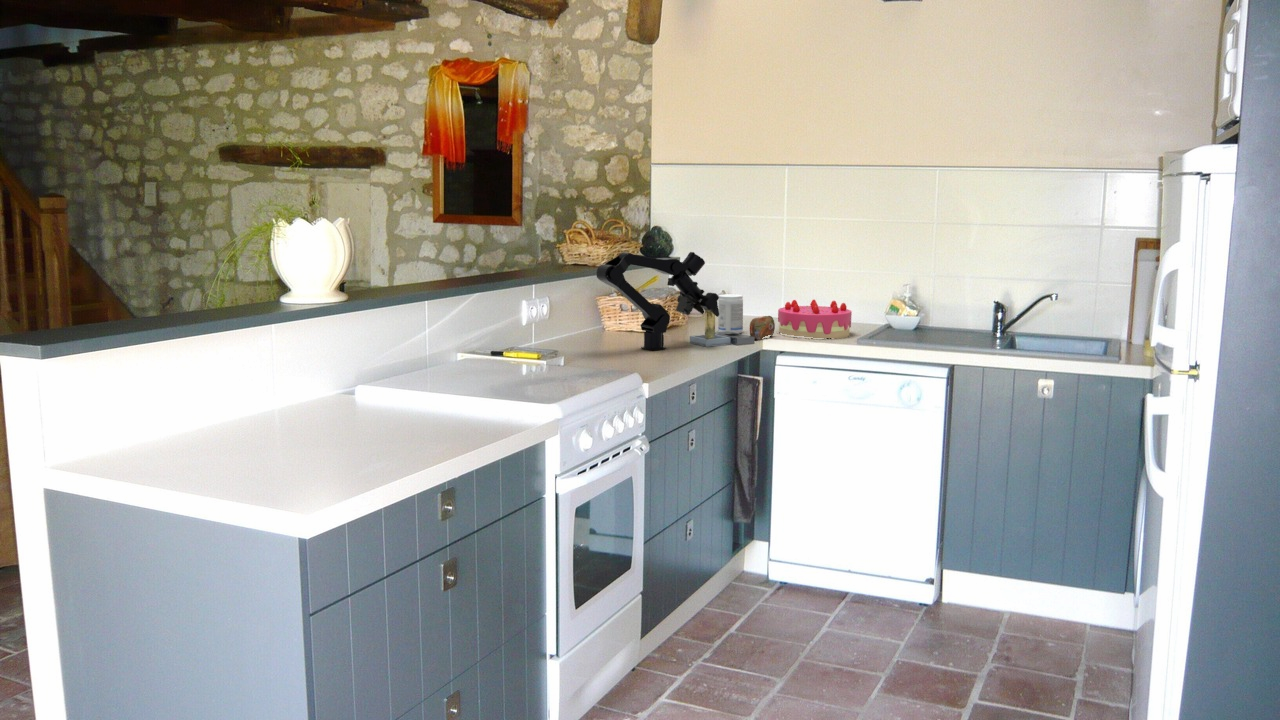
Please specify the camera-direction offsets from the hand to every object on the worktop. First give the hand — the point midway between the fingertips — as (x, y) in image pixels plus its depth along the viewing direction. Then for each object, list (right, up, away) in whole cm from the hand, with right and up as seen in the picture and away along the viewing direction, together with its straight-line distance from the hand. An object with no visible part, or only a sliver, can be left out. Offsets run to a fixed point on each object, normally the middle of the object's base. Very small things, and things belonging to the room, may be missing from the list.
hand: (710, 314), depth 363 cm
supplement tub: (+10, -6, +29) cm, 31 cm away
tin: (+20, -9, +15) cm, 26 cm away
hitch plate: (+8, -10, +7) cm, 15 cm away
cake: (+42, -7, +27) cm, 50 cm away
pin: (0, -10, +2) cm, 10 cm away
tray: (0, -11, +2) cm, 11 cm away
